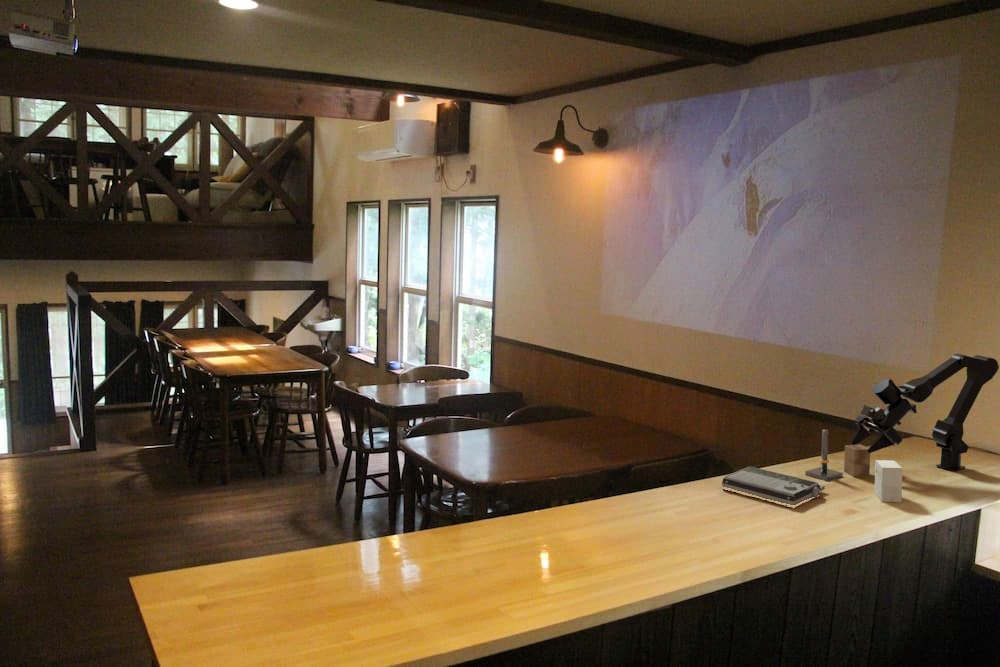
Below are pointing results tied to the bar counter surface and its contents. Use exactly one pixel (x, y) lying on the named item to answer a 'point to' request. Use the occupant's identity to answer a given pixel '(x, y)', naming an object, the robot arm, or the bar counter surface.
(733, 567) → the bar counter surface
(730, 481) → the radio
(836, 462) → the bar counter surface
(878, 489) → the small box
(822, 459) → the height gauge
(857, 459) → the walnut block
